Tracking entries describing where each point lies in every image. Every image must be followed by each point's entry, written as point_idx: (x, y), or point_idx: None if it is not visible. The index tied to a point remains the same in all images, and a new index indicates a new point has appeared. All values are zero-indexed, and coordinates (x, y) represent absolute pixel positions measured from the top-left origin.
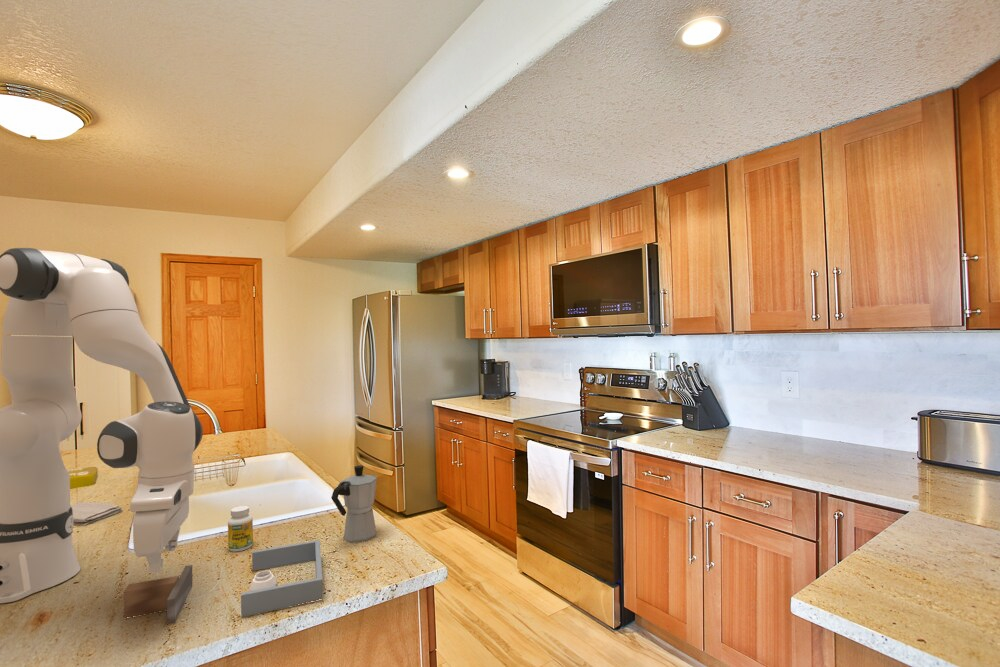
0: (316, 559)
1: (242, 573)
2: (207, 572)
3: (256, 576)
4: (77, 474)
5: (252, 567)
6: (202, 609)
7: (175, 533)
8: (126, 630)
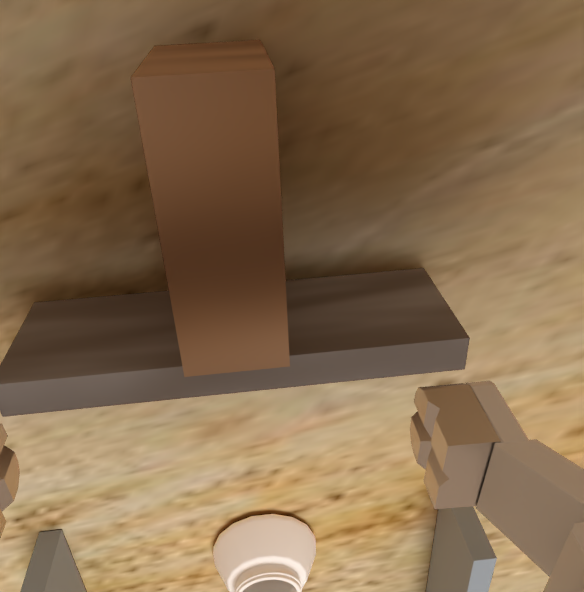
0: None
1: None
2: (552, 320)
3: (274, 571)
4: None
5: None
6: None
7: (539, 548)
8: (8, 118)
